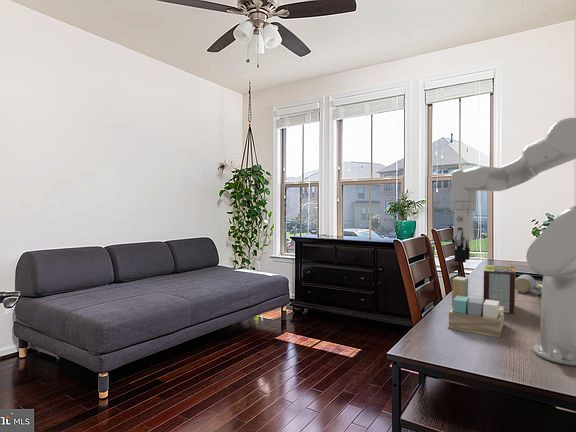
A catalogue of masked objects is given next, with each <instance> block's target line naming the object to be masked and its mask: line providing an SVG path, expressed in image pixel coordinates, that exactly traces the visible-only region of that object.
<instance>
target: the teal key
mask: <svg viewBox="0 0 576 432" xmlns="http://www.w3.org/2000/svg"><path fill="white" fill-rule="evenodd" d="M469 300H470V296H468V297H464V296H456V297H455V298H454V299H453V312H455V313H461V314H468V301H469Z"/></svg>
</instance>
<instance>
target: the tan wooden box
mask: <svg viewBox="0 0 576 432" xmlns="http://www.w3.org/2000/svg"><path fill="white" fill-rule="evenodd" d="M504 324H505V313H504V306H499V318H498V319H492V318H486V317H483V316H482V317H480V316H474V315H468V314H461V313H455V312H453V308H452V307H451V309H450V311H449V312H448V325H447V329H448V330H455V331H460V332H465V333H470V334H475V335H481V336H486V337H487V336H488V337H491V338H496V339H497V338H498V339H500V338H501V335H502V332H503V328H504Z"/></svg>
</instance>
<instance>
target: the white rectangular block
mask: <svg viewBox="0 0 576 432" xmlns="http://www.w3.org/2000/svg"><path fill="white" fill-rule="evenodd" d="M483 317H486V318H492V319H498V318H499V301H494V300H487V299H486V300H485V302H484V304H483Z"/></svg>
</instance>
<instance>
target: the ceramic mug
mask: <svg viewBox="0 0 576 432" xmlns="http://www.w3.org/2000/svg"><path fill="white" fill-rule="evenodd" d="M515 291H517V292H518V293H522V294H526V293H529V292H531V293H532V294H534V295H540V296H541V294H542V289H541V288H539V287H538V286H537V283H536V280H535V278H534V277H533V276H531V275H529V274H521V275H519V276H518V277H516V278H515Z"/></svg>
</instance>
